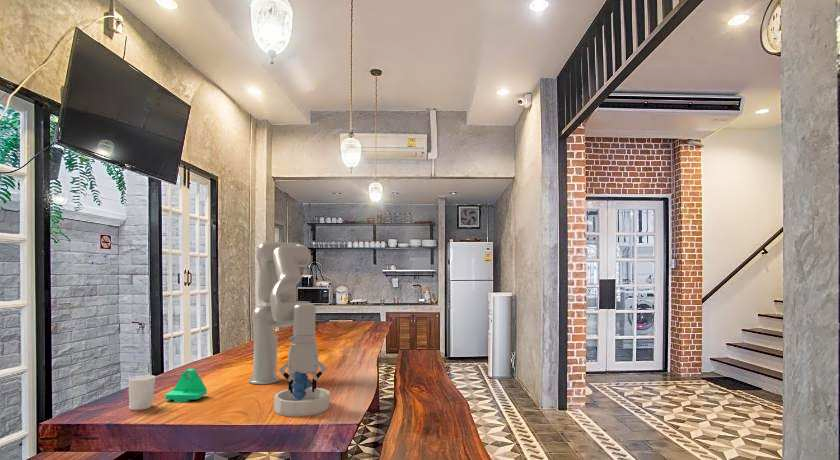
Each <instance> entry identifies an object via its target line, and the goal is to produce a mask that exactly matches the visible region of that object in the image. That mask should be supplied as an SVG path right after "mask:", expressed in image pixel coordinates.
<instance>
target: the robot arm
mask: <svg viewBox="0 0 840 460" xmlns="http://www.w3.org/2000/svg"><path fill="white" fill-rule="evenodd" d="M311 258H312V256H311V251H310V249H309V248H308V247H307V246H305V245H303V244H301V243H299V242H281V241H265V242H261V243H260V244H259V245H258V246H257V248H256V259H257V264H258V268H259V274H258V275H259V277H258V288H257V289H258V290H257V296H258V300H259V301H260V302H262V303H266V305H259V306H257V307H256V308H254V309H253V312H252V325H253V357H252V359H253V361H252V362H253V364H252V368H253V369H252V376H251V377H249V378H248V383H250V384H253V385H269V384H275V383H277V382H279V381H280V380H281V376H279V375H277V369H278V366H277V365H278V362H277V361H278V336H277V334H276V333H275V332H274V330H273V329H274V328H287V327H290V326H292V335H288V339H287V340H288V341H290V342H291V343H290V345H289V349H288V358H287V362H286V363H284V364H283V365H282V366H281V367H280V368H279V369H278V371H279V373H280V374H281V375H282V376H283V377H284V378H285V380H287V381H288V388H287V390H290V393H293V387H292V386H291V385H292V383H293V382H294V378H293V375H294V373H296V372H299V373H300V374H307V375H308V374H311V376H312V380H311V382H312V385H311V387H312V392H314V389H316V388H317V380H319V378H320V377H321V376H322V375H323V373H324V372H325V371H327V367H326V366H325V365H324V364H323V363H322V362H321V361H320V360H319V349H318V348H319V347H318V343H317V342H316V341H315V340H316V312H317V311H316V310H317V309H316V305H315V304H313V303H310V302H309V301H307V300H306V301H305V300H299V301H298V300H297V297H298V296H297V293H298V292H297V291H298V290H297V285H298V284H299V283H300V282H301V280H302V276H301V271H300V268H306V267H308V266H309V265H310V264H311V261H312V259H311ZM267 303H268V304H269V305H267ZM319 368H320V370H319ZM286 369H287V371H286Z"/></svg>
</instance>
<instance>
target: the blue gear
mask: <svg viewBox="0 0 840 460" xmlns="http://www.w3.org/2000/svg"><path fill="white" fill-rule="evenodd" d="M292 379H293V383H292V385H291V386H292V387H293V389H294V391H293V393H292V394H293V396H294V397H295V398H296V399H297V400H298V401H301V400H302V399H303V397H304V396H305V395H306V394H307V393H306V391H305V390H306V389H307V388H309V387H312V380H311V379H309V376H308V374H300V373H299V372H296V373H294V375H293V378H292Z"/></svg>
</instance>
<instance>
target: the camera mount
mask: <svg viewBox="0 0 840 460" xmlns="http://www.w3.org/2000/svg"><path fill="white" fill-rule="evenodd" d="M207 393H208V388H207V387H206V385H205V384H204V382H203V380H202V378H201V377H200V375H199V373H198V372H197V370H196V369H195V368H188V369H187V370H185V371H183V372H182V373H181V376H180V378H179V380H178V382H177V383H176V385H175V386H174V387H173V388H172V390H170V391H169V392H167V393H165V394H164V400H173V402H174V403H188V402H189V401H191V400H199V399H201V398H202V397H204V396H206V395H207Z"/></svg>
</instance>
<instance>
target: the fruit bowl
mask: <svg viewBox="0 0 840 460" xmlns="http://www.w3.org/2000/svg"><path fill="white" fill-rule="evenodd" d="M293 391H294V389H293ZM305 391H306V393H307V394H306V395H305V396H304V397H303V399H302V400H301V401H298V400H297V399H296V398H295V397H294V396H293V394H292V393H290V390H288V389H284V390H281V391H279V392H277V393H275V394H274V397H273V398H274V399H273V411H274V413H275V414H276V415H279V416H283V417H290V418H299V417H300V418H302V417H312V416H316V415H319V414H323V413H325V412H327V411H328V410H329V409H330V405H331V404H330V403H331V401H330V400H331V399H330V398H331V394H330V391H329V390H327V389H325V388H320V387H319V388H318V387H316V389H314V392H312V386H310V387H309V388H307V389H306V390H305Z"/></svg>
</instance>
